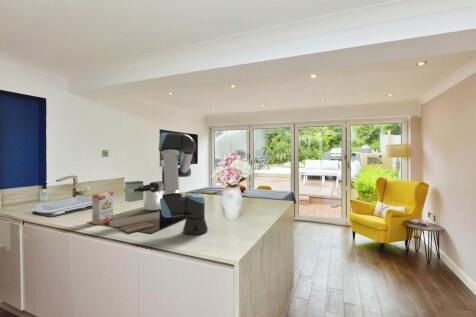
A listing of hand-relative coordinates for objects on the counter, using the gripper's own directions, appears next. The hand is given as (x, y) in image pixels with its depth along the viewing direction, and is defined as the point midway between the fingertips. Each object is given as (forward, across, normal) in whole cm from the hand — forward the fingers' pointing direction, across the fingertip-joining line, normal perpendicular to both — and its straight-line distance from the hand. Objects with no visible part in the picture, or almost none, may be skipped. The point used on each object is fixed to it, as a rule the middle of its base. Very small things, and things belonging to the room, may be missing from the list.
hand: (126, 190), depth 163 cm
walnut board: (-1, -11, -24) cm, 26 cm away
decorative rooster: (-40, +26, -24) cm, 53 cm away
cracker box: (+6, +22, -24) cm, 33 cm away
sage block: (-6, 0, -8) cm, 9 cm away
